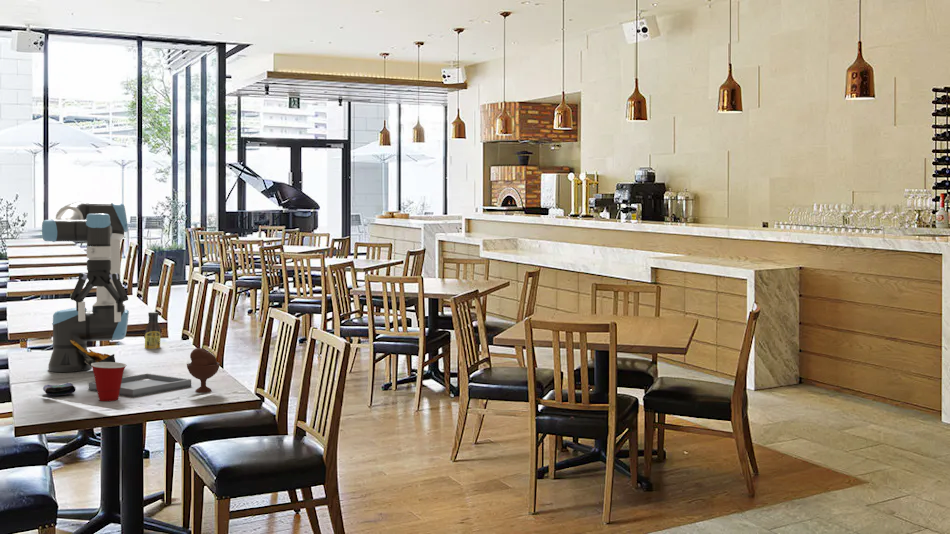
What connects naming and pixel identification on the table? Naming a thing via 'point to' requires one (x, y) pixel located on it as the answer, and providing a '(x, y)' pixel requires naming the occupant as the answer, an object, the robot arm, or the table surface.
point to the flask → (59, 389)
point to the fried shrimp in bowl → (94, 355)
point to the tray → (148, 384)
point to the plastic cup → (108, 379)
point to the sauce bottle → (152, 332)
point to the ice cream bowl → (202, 367)
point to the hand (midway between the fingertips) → (99, 321)
